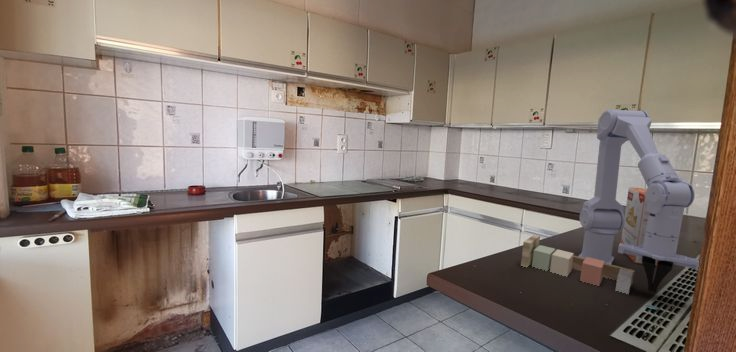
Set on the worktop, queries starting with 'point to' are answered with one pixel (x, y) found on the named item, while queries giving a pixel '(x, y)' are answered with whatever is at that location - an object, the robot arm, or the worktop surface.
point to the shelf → (609, 270)
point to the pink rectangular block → (592, 271)
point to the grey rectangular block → (624, 281)
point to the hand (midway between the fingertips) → (651, 290)
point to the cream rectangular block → (561, 262)
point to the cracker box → (635, 221)
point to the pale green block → (542, 257)
